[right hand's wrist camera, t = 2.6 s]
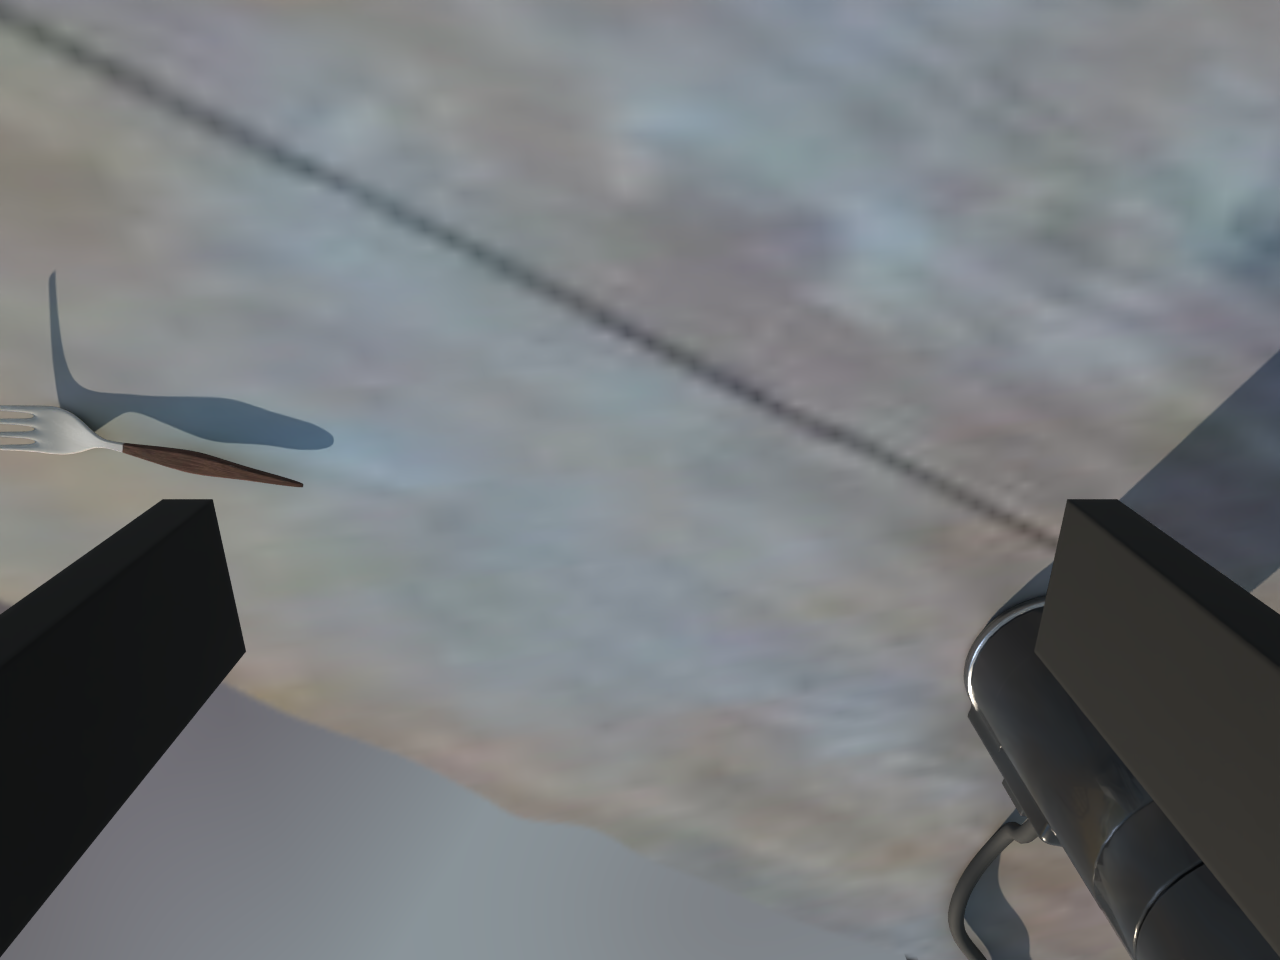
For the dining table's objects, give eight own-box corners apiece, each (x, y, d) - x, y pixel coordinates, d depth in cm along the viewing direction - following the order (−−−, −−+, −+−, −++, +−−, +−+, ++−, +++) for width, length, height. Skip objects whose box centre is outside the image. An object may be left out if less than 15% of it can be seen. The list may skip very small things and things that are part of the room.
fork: (305, 504, 42) (289, 519, 40) (-7, 439, 41) (-38, 452, 39) (308, 459, 41) (293, 473, 40) (-11, 391, 40) (-42, 402, 38)
